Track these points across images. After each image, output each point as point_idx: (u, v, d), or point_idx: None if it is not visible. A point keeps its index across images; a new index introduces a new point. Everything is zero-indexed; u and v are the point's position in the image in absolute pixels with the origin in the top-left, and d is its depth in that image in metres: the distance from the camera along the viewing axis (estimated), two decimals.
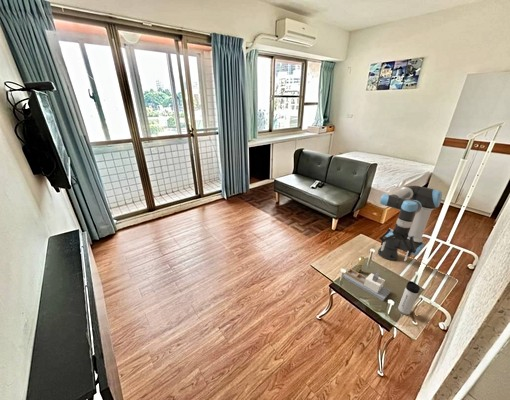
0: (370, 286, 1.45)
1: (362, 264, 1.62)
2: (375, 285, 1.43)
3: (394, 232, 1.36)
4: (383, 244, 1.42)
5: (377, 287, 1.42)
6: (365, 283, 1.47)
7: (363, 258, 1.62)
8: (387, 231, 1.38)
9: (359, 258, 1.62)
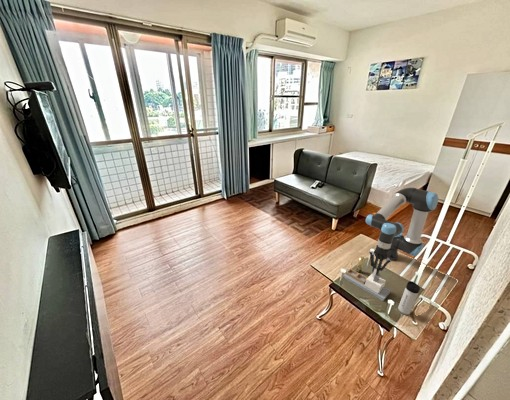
0: (371, 286, 1.45)
1: (362, 264, 1.62)
2: (376, 285, 1.42)
3: (375, 252, 1.42)
4: (374, 271, 1.44)
5: (378, 287, 1.41)
6: (366, 283, 1.47)
7: (363, 258, 1.62)
8: (370, 255, 1.45)
9: (359, 258, 1.62)
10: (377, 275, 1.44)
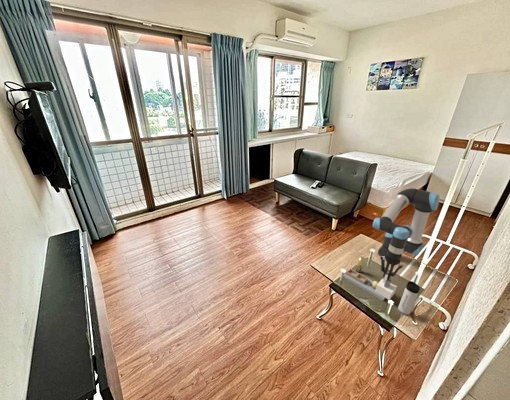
0: (382, 292, 1.40)
1: (362, 264, 1.62)
2: (387, 291, 1.37)
3: (386, 257, 1.37)
4: (385, 276, 1.40)
5: (389, 294, 1.37)
6: (376, 289, 1.42)
7: (363, 258, 1.62)
8: (381, 260, 1.40)
9: (359, 258, 1.62)
10: (388, 281, 1.40)
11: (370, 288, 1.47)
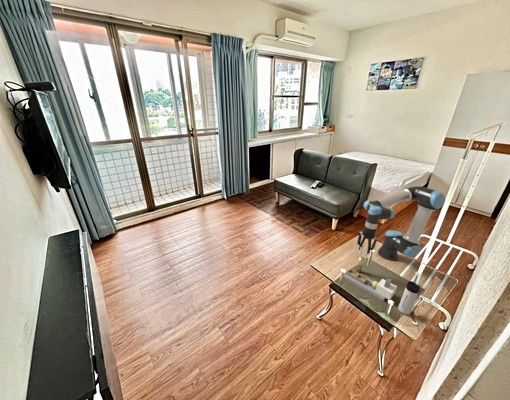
0: (382, 292, 1.40)
1: (362, 264, 1.62)
2: (387, 291, 1.37)
3: (363, 233, 1.57)
4: (360, 249, 1.60)
5: (389, 294, 1.37)
6: (376, 289, 1.42)
7: (363, 258, 1.62)
8: (359, 234, 1.59)
9: (359, 258, 1.62)
10: (388, 281, 1.40)
11: (370, 288, 1.47)
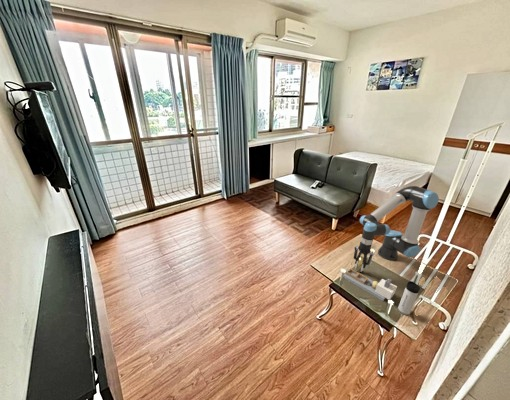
0: (382, 292, 1.40)
1: None
2: (387, 291, 1.37)
3: (359, 248, 1.61)
4: (357, 263, 1.65)
5: (389, 294, 1.37)
6: (376, 289, 1.42)
7: (363, 258, 1.62)
8: (355, 249, 1.64)
9: (359, 258, 1.62)
10: (388, 281, 1.40)
11: (370, 288, 1.47)
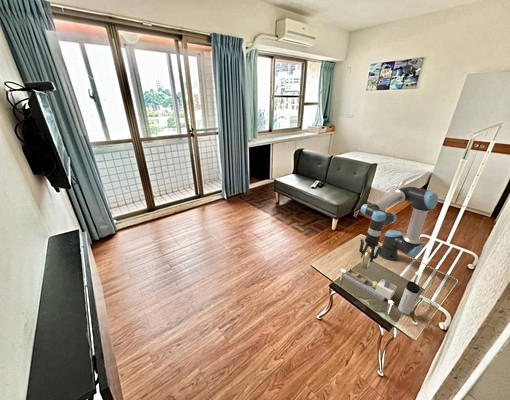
0: (382, 292, 1.40)
1: None
2: (387, 291, 1.37)
3: (366, 240, 1.45)
4: (363, 257, 1.49)
5: (389, 294, 1.37)
6: (376, 289, 1.42)
7: (370, 253, 1.46)
8: (361, 242, 1.48)
9: (365, 253, 1.47)
10: (388, 281, 1.40)
11: (370, 288, 1.47)
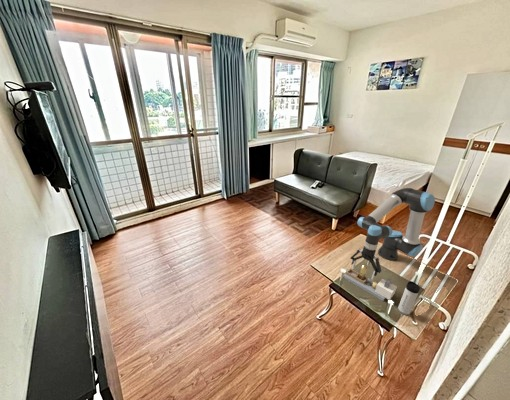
0: (382, 292, 1.40)
1: (365, 272, 1.50)
2: (387, 291, 1.37)
3: (362, 253, 1.49)
4: (354, 263, 1.55)
5: (389, 294, 1.37)
6: (376, 289, 1.42)
7: (366, 266, 1.50)
8: (357, 252, 1.51)
9: (362, 266, 1.50)
10: (388, 281, 1.40)
11: (370, 288, 1.47)
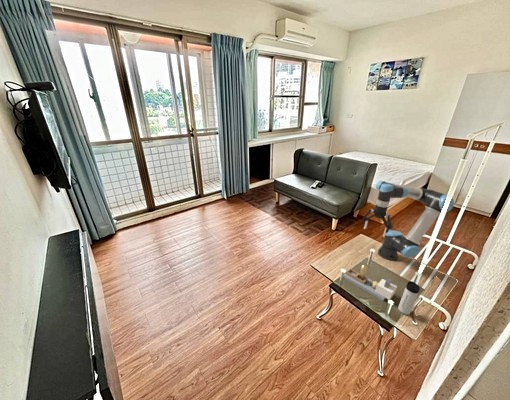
0: (382, 292, 1.40)
1: (365, 272, 1.50)
2: (387, 291, 1.37)
3: (374, 212, 1.56)
4: (365, 223, 1.62)
5: (389, 294, 1.37)
6: (376, 289, 1.42)
7: (366, 266, 1.50)
8: (369, 211, 1.59)
9: (362, 266, 1.50)
10: (388, 281, 1.40)
11: (370, 288, 1.47)
